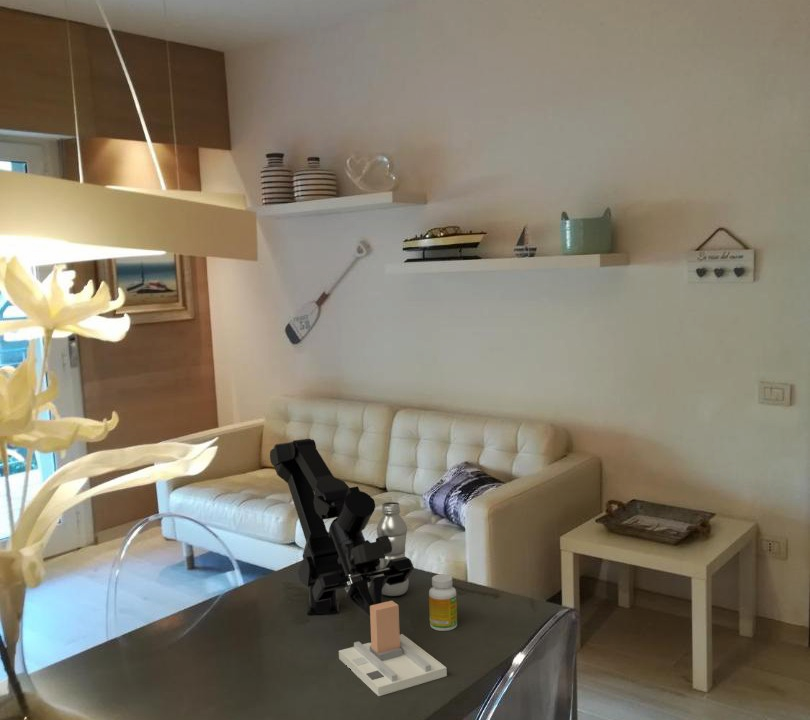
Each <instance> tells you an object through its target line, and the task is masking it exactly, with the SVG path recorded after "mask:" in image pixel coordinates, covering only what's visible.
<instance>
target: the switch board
mask: <svg viewBox="0 0 810 720" xmlns="http://www.w3.org/2000/svg"><path fill="white" fill-rule="evenodd" d="M370 646H371V642H366V643H362V642H360V641H355V642H353V646H351V647H347V648H344V649H340V650H338V659H339V660H340V661H341V662H342V663H343V664H344V665H345V666H346V665H347V668H348V669H349V668H350V669H351V670H350V669H349V670H350V671H352V673H354V675H355V676H357V678H359V679H360V680H361V682H363V683H364V684H365V685H366V686H367V687H368V688H370V689H371V691H372V692H373V693H374V694H375V695H377V696H378V697H381V696H384V695H388V694H391V693H394V692H399V691H403V690H406V689H409V688H411V687H416V686H418V685H421V684H424V683H425V684H426V683H428V682H432V681H435V680H438V679H441V678H442V679H443V678H445V677H447V676H448V674H447V673H448V671H447V667H446V666H445V665H444V664H442V663H441V662H440V661H439V660H437V659H436V658H434V657H433V656H432V655H431V654H429V653H428V652H426V650H425V649H423V648H422V647H420V646H419V645H417V644H416V643H415V642H413V640H411V639H410V638H408V637H407V636H406V635H404V634H403V633H401V634H400V648H401V649H402V656H399V657H395V658H392V659H388V660H384V661H381V660H380V659H379V658H378V657H376V656H375V655H374V654H373V653H372V652H371V651H370Z"/></svg>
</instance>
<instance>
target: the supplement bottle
mask: <svg viewBox="0 0 810 720" xmlns="http://www.w3.org/2000/svg"><path fill="white" fill-rule="evenodd" d="M431 586H432V587H430V589H429V591H428V603H429V604H428V605H429V608H428V609H429V625H430V626H429V627H431V629H433V630H435V631H438V632H439V631H441V632H447V631H452V630H454V629H456V628H457V627H458V607H457V606H458V603H457V602H458V601H457V590H456V588H455V587H454V586H453V576H451V575H448V574H443V573H440V574H436V575H434V576H432V577H431Z"/></svg>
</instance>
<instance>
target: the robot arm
mask: <svg viewBox="0 0 810 720" xmlns="http://www.w3.org/2000/svg"><path fill="white" fill-rule="evenodd" d="M269 460H270V463H271V465H272V466H273V469H274V470H275V472H276V475H277V476H278V477H279V478H280V479H282V480H283V481H284V482H286V484H287V485H288V489H289V491H290V495H291V499H292V500H293V504H294V507H295V511H296V513H297V516H298V520H299V522H300V526H301V529H302V532H303V536H304V539H305V545H304V548H303V553H302V558H303V559H302V561H301V563H300V566H299V568H298V569H297V572H298V573H297V574H298V577H299V582H301V583H302V584H303V585H304V586H306V588H308V603H307V611H306V615H311V616H312V615H313V616H314V615H326V614H327V615H328V614H339V611H340V599H338V596H337V595H338V594H337V593H338V592H337V590H341V589H344V590H345V591H346V594H345V595H344V598H345V600H351V601H352V602H353V603H354V604H356V605H357V606H358V607H360V609H362V610H363V611H364V612H365V613H366V614H367V615H368V616H369V617H370V606H371V605H375V604H379V603H382V595H383V594H382V588H383V587H384V585H385V583H387V584H389V585H395V584H399V583H403V582H405V581H406V580H407V578H408V579H409V576H410V575H411V573H412V572H413V570H414V569H415V568H414V564H413V562H412V560H411V559H410V558H409V557H407V556H405V557H401V558H397V559H392V560H390V561H389V562H388V564H387V566H386V568H382V569H380V568H378V569H377V567H380V559H382V558H383V559H384V558H385V554H388V553H390V552H391V551H392V546H391V542H390V540H389V538H388V536H387V535H386V536H381V537H379V538H378V537H376V538H375V541H373V542H371V541H369V539H366V538H365V537H364V534H363V532H362V531H364V529H365V528H366V527H367V526H368V524H369V521H370V519H371V517H372V516H373V514H374V512H375V509H376V502H375V500H374V498H373V497H372V496H371V495H369V494H368V493H366V492H364V491H361V490H360V488H359V486H351V487H350V486H349V485H348V484H347V483H346V481H344V480H341V479H339V478H336V477H335V476H334V475H333V473H332V472H331V470H330V468H329V466H328V465H327V464H326V462H325V460H324V459H323V457H322V456H321V454H320V452H319V451H318V449H317V445H316V442H315V440H314V439H312V438H303V439H302V438H301V439H294V440H293V441H290V442H289V441H288V442H283V443H276V444H274V446H273V448H272V449H271V450H270V452H269ZM333 518H334V519H333ZM329 519H333V520H332V522H331V523H330V525H329V529H328V530H327V527H326V524H325V521H324V520H329Z"/></svg>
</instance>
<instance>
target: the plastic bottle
mask: <svg viewBox="0 0 810 720" xmlns="http://www.w3.org/2000/svg"><path fill="white" fill-rule="evenodd" d="M381 513H382V517H381V518H380V519H379V521H378V523H377V526H376V533H377V534H376V535H377V538H379V537H381V536H386V535H387V536H388V538H389V540H390V542H391V546H392V551H391V552H390V553H388V554H385V558H384V559H383V558H382V559H379V560H380V564H379V569H382V568H386V566H387V564H388V562H389V561H390V560H392V559H397V558H401V557H406V541H407V532H408V526H407V523H406V522H405V520H404V518H403V517H402V516H401V515H400V513H401V509H400V503H399V502H398V501H397V502H396V501H387V502H383V503H382V505H381ZM409 584H410V583H409V577H408V578H407V580H406V581H405V582H403V583H399V584H395V585H389V584H387V583H385V585H384V587H383V588H382V594H381V595H384V596H386V597H387V596H388V597H397V596H399V597H400V596H402V595H404V594H406V592H407V591H408V589H409Z"/></svg>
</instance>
